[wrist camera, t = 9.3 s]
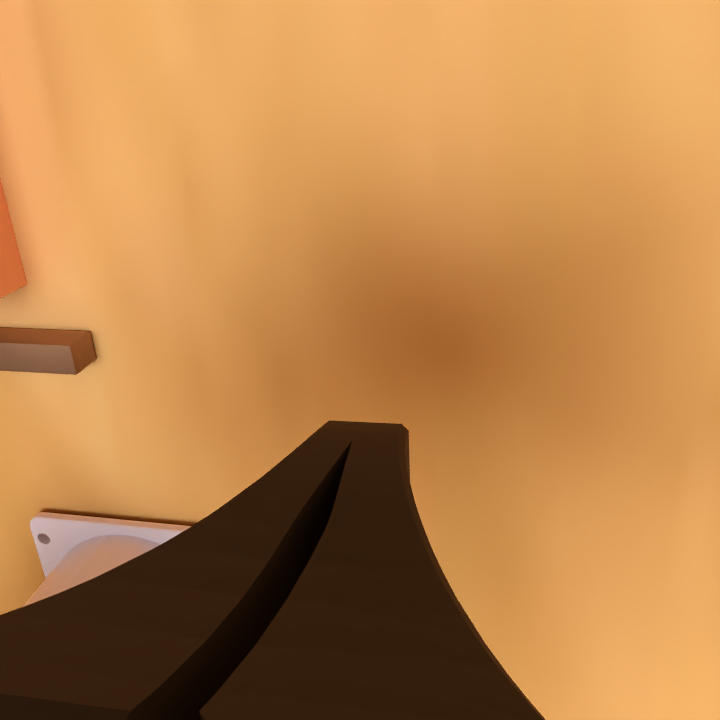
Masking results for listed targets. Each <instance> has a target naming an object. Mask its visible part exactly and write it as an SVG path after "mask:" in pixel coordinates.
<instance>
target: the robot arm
mask: <svg viewBox="0 0 720 720" xmlns="http://www.w3.org/2000/svg"><path fill="white" fill-rule="evenodd" d="M30 528H31V532H32V535H33V538H34V542H35V545H36V548H37V552H38V555H39V558H40V562H41V565H42V568H43V571H44V575H45V578H46V579H45V580H44V581H43V582H42V584H41V585H40V586H39V587H38V588H37V590H36V591H35V592H34V593H33V594H32V595H31V597H30V598H29V599H28V600H27V601H26V603H25V604H24V605H23V606H22V607H21V608H19V609H16V610H13V611H10V612H8V613H5V614H2V615H0V720H545V719H544V717H543V716H542V715H541V714H540V713H539V712H538V710H537V709H536V708H535V707H534V706H533V705H532V704H531V702H530V701H529V700H528V699H527V698H526V696H525V695H524V694H523V693H522V691H521V690H520V689H519V688H518V686H517V685H516V684H515V683H514V681H513V680H512V679H511V678H510V677H509V675H508V674H507V673H506V671H505V670H504V669H503V667H502V666H501V664H500V663H499V662H498V660H497V659H496V658H495V656H494V655H493V653H492V652H491V651H490V649H489V648H488V647H487V645H486V644H485V642H484V641H483V639H482V638H481V636H480V635H479V633H478V631H477V630H476V628H475V627H474V625H473V623H472V622H471V620H470V619H469V617H468V616H467V614H466V612H465V611H464V609H463V608H462V606H461V604H460V603H459V601H458V600H457V598H456V596H455V594H454V592H453V591H452V589H451V587H450V585H449V583H448V581H447V579H446V577H445V575H444V574H443V572H442V569H441V567H440V565H439V563H438V561H437V559H436V557H435V555H434V552H433V550H432V548H431V545H430V543H429V541H428V538H427V536H426V533H425V530H424V528H423V525H422V522H421V519H420V516H419V514H418V510H417V507H416V504H415V501H414V497H413V493H412V489H411V485H410V469H409V431H408V430H407V429H406V428H405V427H404V426H403V425H402V424H390V423H368V422H347V421H328V422H327V423H326V424H325V425H323V426H322V427H321V428H320V429H318V430H317V431H316V432H315V433H314V434H313V435H311V436H310V437H309V438H308V439H307V440H306V441H305V442H303V443H302V444H301V445H300V446H299V447H298V448H296V449H295V450H294V451H293V452H292V453H290V454H289V455H288V456H287V457H286V458H284V459H283V460H282V461H281V462H280V463H278V464H277V465H276V466H275V467H273V468H272V469H271V470H270V471H269V472H267V473H266V474H265V475H264V476H263V477H261V478H260V479H259V480H257V481H256V482H255V483H253V484H252V485H250V486H249V487H248V488H246V489H245V490H244V491H242V492H241V493H240V494H238V495H237V496H235V497H234V498H233V499H231V500H230V501H229V502H227V503H226V504H225V505H223V506H222V507H220V508H219V509H218V510H216V511H215V512H213V513H212V514H210V515H209V516H207V517H206V518H204V519H203V520H201V521H199V522H198V523H196V524H195V525H193V526H184V525H174V524H163V523H153V522H142V521H132V520H121V519H111V518H101V517H90V516H80V515H69V514H59V513H48V512H39V513H37V514H36V515H35V516H34V517H33V518H32V519H31V521H30Z"/></svg>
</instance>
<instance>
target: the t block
mask: <svg viewBox="0 0 720 720" xmlns="http://www.w3.org/2000/svg"><path fill="white" fill-rule="evenodd" d="M26 284H27V281H26V277H25V273H24V270H23V266H22V262H21V258H20V254H19V250H18V246H17V242H16V238H15V234H14V230H13V227H12V223H11V219H10V215H9V211H8V207H7V203H6V199H5V195H4V191H3V187H2V184H1V180H0V298H1V297H3V296H5V295H7V294H9V293H11V292H13V291H15V290H17V289H19V288H21V287H22V286H24V285H26Z"/></svg>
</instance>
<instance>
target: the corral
mask: <svg viewBox="0 0 720 720" xmlns="http://www.w3.org/2000/svg"><path fill="white" fill-rule="evenodd" d="M95 359H96V355H95V350H94V346H93V341H92V337H91V332H90V331H73V330H49V329H25V328H0V371H19V372H37V373H55V374H74V375H77V374H78V373H79V372H80V371H82V370H83V369H84V368H85V367H87V366H88V365H89V364H90V363H92V362H93V361H94V360H95Z"/></svg>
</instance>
